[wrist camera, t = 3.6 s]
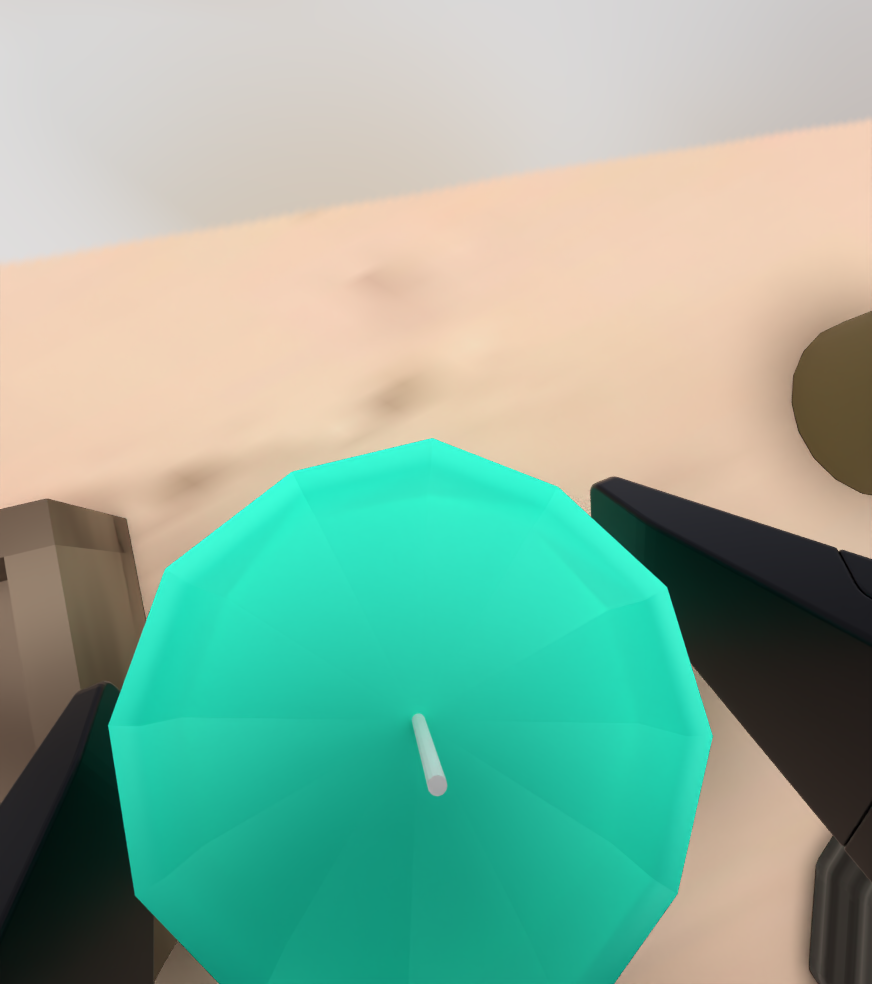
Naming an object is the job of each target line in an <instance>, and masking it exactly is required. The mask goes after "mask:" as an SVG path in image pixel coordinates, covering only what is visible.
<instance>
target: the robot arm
mask: <svg viewBox="0 0 872 984" xmlns="http://www.w3.org/2000/svg"><path fill="white" fill-rule="evenodd" d="M590 499H591V518H592V519H594V520H595V521H596V522H597V523H598V524H599V525H600V526H601V527H602V528H603V529H604V530H605V531H607V532H608V533H609V534H610V535H611V536H612V537H613V538H614V539H615V540H616V541H617V542H619V543H620V544H621V545H622V546H623V547H624V548H625V549H626V550H627V551H628V552H629V553H630V554H632V555H633V556H634V557H635V558H636V559H637V560H638V561H639V562H640V563H641V564H642V565H644V566H645V567H646V568H647V569H648V570H649V571H650V572H651V573H652V574H653V575H654V576H656V577H657V578H658V579H659V580H660V581H661V582H662V583H663V584H664V585H665V586H666V587H667V589H668V592H669V595H670V598H671V602H672V605H673V608H674V611H675V615H676V618H677V621H678V624H679V628H680V631H681V634H682V637H683V641H684V644H685V647H686V650H687V654H688V657H689V660H690V663H691V664H692V665H693V667H694V668H695V669H696V670H697V671H698V673H699V674H700V675H701V676H702V678H703V679H704V680H705V681H706V682H707V684H708V685H709V686H710V687H711V688H712V690H713V691H714V692H715V693H716V694H717V696H718V697H719V698H720V699H721V700H722V702H723V703H724V704H725V705H726V707H727V708H728V709H729V710H730V711H731V713H732V714H733V715H734V716H735V717H736V719H737V720H738V721H739V722H740V723H741V725H742V726H743V727H744V728H745V730H746V731H747V732H748V733H749V734H750V736H751V737H752V738H753V739H754V740H755V742H756V743H757V744H758V745H759V746H760V748H761V749H762V750H763V751H764V753H765V754H766V755H767V756H768V757H769V759H770V760H771V761H772V762H773V763H774V765H775V766H776V767H777V768H778V769H779V771H780V772H781V773H782V774H783V776H784V777H785V778H786V779H787V780H788V782H789V783H790V784H791V785H792V786H793V788H794V789H795V790H796V791H797V792H798V794H799V795H800V796H801V797H802V799H803V800H804V801H805V802H806V803H807V805H808V806H809V807H810V808H811V809H812V811H813V812H814V813H815V814H816V815H817V817H818V818H819V819H820V820H821V822H822V823H823V824H824V825H825V826H826V828H827V829H828V830H829V831H830V832H831V834H832V835H833V836H834V837H835V838H836V840H837V841H838V842H839V843H840V844H841V845H842V846H845V847H844V850H845V851H846V852H847V854H848V855H849V856H850V857H851V858H852V860H853V861H854V862H855V863H856V864H857V866H858V867H859V868H860V869H861V870H862V872H863V873H864V874H865V875H866V877H867V878H868V879H869V880H870V881H871V883H872V559H870V558H867V557H864V556H860V555H857V554H854V553H851V552H848V551H845V550H840V551H838V550H837V548H835V547H832V546H829V545H826V544H823V543H820V542H817V541H814V540H811V539H807V538H804V537H801V536H798V535H795V534H792V533H789V532H786V531H783V530H780V529H777V528H774V527H770V526H767V525H764V524H761V523H758V522H755V521H752V520H749V519H746V518H743V517H740V516H736V515H733V514H730V513H727V512H724V511H721V510H718V509H715V508H712V507H709V506H706V505H703V504H699V503H696V502H693V501H690V500H687V499H684V498H681V497H678V496H675V495H672V494H669V493H666V492H662V491H659V490H656V489H653V488H650V487H647V486H644V485H641V484H638V483H635V482H632V481H628V480H625V479H622V478H619V477H609V478H607V479H604V480H602V481H599V482H597V483H595V484H593V485H592V487H591V490H590ZM120 692H121V691H120V690H119V689H118V688H117V687H116V686H115V685H114V684H113V683H111V682H109V681H101V682H99V683H96V684H94V685H91V686H89V687H86V688H84V689H81V690H80V691H78V692H77V693H76V694H75V695H74V696H73V697H72V699H71V700H70V702H69V703H68V705H67V706H66V708H65V709H64V711H63V712H62V714H61V715H60V717H59V718H58V720H57V721H56V722H55V724H54V725H53V727H52V728H51V730H50V731H49V733H48V734H47V736H46V737H45V739H44V740H43V742H42V743H41V745H40V746H39V748H38V749H37V750H36V752H35V753H34V755H33V756H32V758H31V759H30V761H29V762H28V764H27V765H26V767H25V768H24V770H23V771H22V773H21V774H20V776H19V777H18V779H17V780H16V781H15V783H14V784H13V786H12V787H11V789H10V790H9V792H8V793H7V795H6V796H5V798H4V799H3V801H2V802H1V804H0V984H154V915H153V914H152V913H151V912H150V911H149V910H148V909H147V908H146V907H145V906H144V905H143V903H142V902H141V901H140V900H139V899H138V898H137V897H136V896H135V893H134V887H133V880H132V874H131V867H130V861H129V855H128V848H127V842H126V836H125V829H124V823H123V817H122V810H121V804H120V798H119V791H118V785H117V779H116V772H115V766H114V760H113V753H112V747H111V741H110V734H109V728H108V725H109V722H110V719H111V716H112V714H113V711H114V708H115V705H116V703H117V700H118V697H119V694H120Z"/></svg>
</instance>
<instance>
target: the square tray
mask: <svg viewBox="0 0 872 984" xmlns="http://www.w3.org/2000/svg"><path fill="white" fill-rule="evenodd" d="M145 623H146V619H145V614H144V609H143V604H142V599H141V594H140V588H139V583H138V578H137V573H136V568H135V563H134V558H133V552H132V547H131V542H130V537H129V532H128V527H127V522H126V519H125V518H121V517H117V516H113V515H109V514H105V513H101V512H98V511H94V510H90V509H86V508H82V507H78V506H74V505H70V504H66V503H62V502H58V501H55V500H51V499H43V500H38V501H34V502H30V503H25V504H21V505H17V506H12V507H8V508H3V509H0V804H1V802H2V801H3V799H4V798H5V796H6V795H7V793H8V792H9V790H10V789H11V787H12V786H13V784H14V783H15V781H16V780H17V779H18V777H19V776H20V774H21V773H22V771H23V770H24V768H25V767H26V765H27V764H28V762H29V761H30V759H31V758H32V756H33V755H34V753H35V752H36V750H37V749H38V748H39V746H40V745H41V743H42V742H43V740H44V739H45V737H46V736H47V734H48V733H49V731H50V730H51V728H52V727H53V725H54V724H55V722H56V721H57V720H58V718H59V717H60V715H61V714H62V712H63V711H64V709H65V708H66V706H67V705H68V703H69V702H70V700H71V699H72V697H73V696H74V695H75V694H76V693H77V692H78V691H80V690H81V689H84V688H86V687H89V686H91V685H94V684H96V683H99V682H101V681H109V682H111V683H113V684H114V685H115V686H116V687H117V688H118V689H119V690H120V691H121V689H122V686H123V683H124V681H125V678H126V675H127V672H128V670H129V667H130V664H131V661H132V659H133V656H134V653H135V650H136V648H137V645H138V642H139V639H140V637H141V634H142V631H143V628H144V626H145ZM176 942H177V939H176V938H175V937H174V936H173V935H172V934H171V933H170V932H169V931H168V930H167V929H166V928H165V927H164V925H163V924H162V923H161V922H160V921H159V920H158V919H157V918H156V917H155V916H154V981H155V979H156V977H157V975H158V974H159V972H160V970H161V968H162V967H163V965H164V963H165V961H166V959H167V958H168V956H169V954H170V952H171V951H172V949H173V947H174V945H175V944H176Z"/></svg>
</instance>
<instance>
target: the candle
mask: <svg viewBox="0 0 872 984" xmlns="http://www.w3.org/2000/svg"><path fill="white" fill-rule="evenodd" d="M108 728H109V734H110V741H111V747H112V753H113V760H114V766H115V772H116V779H117V785H118V791H119V798H120V804H121V810H122V817H123V823H124V829H125V836H126V842H127V848H128V855H129V861H130V867H131V874H132V880H133V887H134V893H135V896H136V897H137V898H138V899H139V900H140V901H141V902H142V903H143V905H144V906H145V907H146V908H147V909H148V910H149V911H150V912H151V913H152V914H153V915H154V916H155V917H156V918H157V919H158V920H159V921H160V922H161V923H162V924H163V925H164V927H165V928H166V929H167V930H168V931H169V932H170V933H171V934H172V935H173V936H174V937H175V938H176V939H177V940H178V941H179V942H180V943H181V944H182V945H183V946H184V947H185V948H186V950H187V951H188V952H189V953H190V954H191V955H192V956H193V957H194V958H195V959H196V960H197V961H198V962H199V963H200V964H201V965H202V966H203V967H204V968H205V969H206V970H207V972H208V973H209V974H210V975H211V976H212V977H213V978H214V979H215V980H216V981H217V982H218V983H219V984H614V983H615V982H616V980H617V979H618V978H619V976H620V975H621V973H622V972H623V970H624V969H625V968H626V966H627V965H628V963H629V962H630V961H631V959H632V958H633V956H634V955H635V953H636V952H637V951H638V949H639V948H640V946H641V945H642V944H643V942H644V941H645V939H646V938H647V937H648V935H649V934H650V932H651V931H652V929H653V928H654V927H655V925H656V924H657V922H658V921H659V920H660V918H661V917H662V915H663V914H664V912H665V911H666V910H667V908H668V907H669V905H670V904H671V903H672V901H673V900H674V898H675V897H676V896H677V894H678V889H679V885H680V880H681V876H682V872H683V867H684V863H685V858H686V854H687V849H688V845H689V840H690V836H691V832H692V827H693V823H694V818H695V814H696V809H697V805H698V800H699V796H700V791H701V787H702V783H703V778H704V774H705V769H706V765H707V760H708V756H709V751H710V747H711V742H712V738H713V735H712V732H711V729H710V725H709V722H708V719H707V716H706V712H705V709H704V706H703V703H702V699H701V696H700V693H699V689H698V686H697V683H696V680H695V676H694V673H693V670H692V667H691V663H690V660H689V657H688V654H687V650H686V647H685V644H684V641H683V637H682V634H681V631H680V628H679V624H678V621H677V618H676V615H675V611H674V608H673V605H672V602H671V598H670V595H669V592H668V589H667V587H666V586H665V585H664V584H663V583H662V582H661V581H660V580H659V579H658V578H657V577H656V576H654V575H653V574H652V573H651V572H650V571H649V570H648V569H647V568H646V567H645V566H644V565H642V564H641V563H640V562H639V561H638V560H637V559H636V558H635V557H634V556H633V555H632V554H630V553H629V552H628V551H627V550H626V549H625V548H624V547H623V546H622V545H621V544H620V543H619V542H617V541H616V540H615V539H614V538H613V537H612V536H611V535H610V534H609V533H608V532H607V531H605V530H604V529H603V528H602V527H601V526H600V525H599V524H598V523H597V522H596V521H595V520H594V519H592V518H591V517H590V516H589V515H588V514H587V513H586V512H585V511H584V510H583V509H582V508H580V507H579V506H578V505H577V504H576V503H575V502H574V501H573V500H572V499H571V498H570V497H568V496H567V495H566V494H565V493H564V492H563V491H562V490H561V489H560V488H559V487H557V486H554V485H552V484H549V483H547V482H544V481H542V480H539V479H536V478H534V477H531V476H529V475H526V474H523V473H521V472H518V471H516V470H513V469H511V468H508V467H505V466H503V465H500V464H498V463H495V462H493V461H490V460H487V459H485V458H482V457H480V456H477V455H475V454H472V453H469V452H467V451H464V450H462V449H459V448H456V447H454V446H451V445H449V444H446V443H444V442H441V441H438V440H436V439H433V438H431V439H426V440H422V441H418V442H414V443H410V444H406V445H401V446H397V447H393V448H389V449H385V450H381V451H376V452H372V453H368V454H364V455H360V456H356V457H351V458H347V459H343V460H339V461H335V462H331V463H326V464H322V465H318V466H314V467H310V468H305V469H301V470H297V471H293V472H291V473H290V474H288V475H287V476H286V477H284V478H283V479H282V480H280V481H279V482H278V483H276V484H275V485H274V486H273V487H271V488H270V489H269V490H267V491H266V492H265V493H263V494H262V495H261V496H260V497H258V498H257V499H256V500H254V501H253V502H252V503H250V504H249V505H248V506H246V507H245V508H244V509H243V510H241V511H240V512H239V513H237V514H236V515H235V516H233V517H232V518H231V519H230V520H228V521H227V522H226V523H224V524H223V525H222V526H220V527H219V528H218V529H216V530H215V531H214V532H213V533H211V534H210V535H209V536H207V537H206V538H205V539H203V540H202V541H201V542H200V543H198V544H197V545H196V546H194V547H193V548H192V549H190V550H189V551H188V552H186V553H185V554H184V555H183V556H181V557H180V558H179V559H177V560H176V561H175V562H173V563H172V564H171V565H170V566H168V567H167V568H166V569H165V571H164V574H163V576H162V579H161V582H160V585H159V587H158V590H157V593H156V595H155V598H154V601H153V604H152V606H151V609H150V612H149V615H148V617H147V620H146V623H145V626H144V628H143V631H142V634H141V637H140V639H139V642H138V645H137V648H136V650H135V653H134V656H133V659H132V661H131V664H130V667H129V670H128V672H127V675H126V678H125V681H124V683H123V686H122V689H121V692H120V694H119V697H118V700H117V703H116V705H115V708H114V711H113V714H112V716H111V719H110V722H109V725H108Z"/></svg>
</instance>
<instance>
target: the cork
mask: <svg viewBox="0 0 872 984" xmlns="http://www.w3.org/2000/svg"><path fill="white" fill-rule="evenodd" d="M792 405H793V409H794V413H795V417H796V421H797V425H798V430H799V432H800V434H801V436H802V438H803V439H804V441H805V443H806V445H807V446H808V448H809V450H810V452H811V453H812V455H813V457H814V458H815V459H816V460H817V461H818V462H819V463H820V464H821V465H822V466H823V467H824V468H825V469H826V470H827V471H828V472H829V473H830V474H831V475H832V476H833V477H834V478H835V479H836V480H838V481H840V482H842V483H844V484H846V485H848V486H849V487H851V488H853V489H855V490H857V491H859V492H861V493H863V494H868V495H872V311H870V312H868V313H865V314H863V315H860V316H858V317H855V318H853V319H850V320H848V321H845V322H843V323H841V324H838V325H836V326H834V327H832V328H830V329H828V330H826V331H824V332H822V333H820V334H819V336H818V337H817V338H816V339H815V340H814V341H813V342H812V343H811V344H810V345H809V346H808V347H807V348H806V349H805V350H804V352H803V354H802V357H801V359H800V361H799V364H798V366H797V369H796V371H795V373H794V379H793V395H792Z"/></svg>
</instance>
